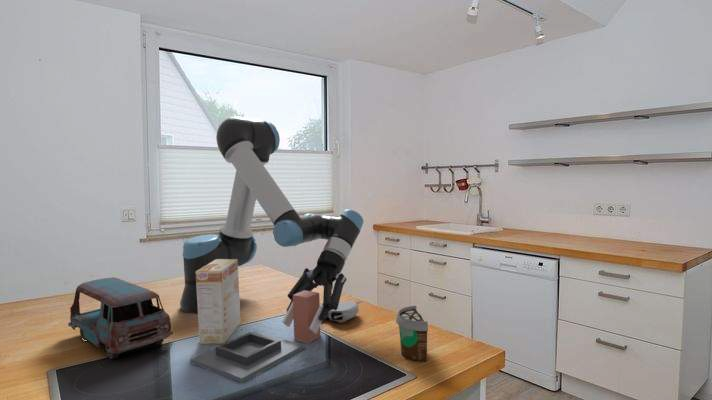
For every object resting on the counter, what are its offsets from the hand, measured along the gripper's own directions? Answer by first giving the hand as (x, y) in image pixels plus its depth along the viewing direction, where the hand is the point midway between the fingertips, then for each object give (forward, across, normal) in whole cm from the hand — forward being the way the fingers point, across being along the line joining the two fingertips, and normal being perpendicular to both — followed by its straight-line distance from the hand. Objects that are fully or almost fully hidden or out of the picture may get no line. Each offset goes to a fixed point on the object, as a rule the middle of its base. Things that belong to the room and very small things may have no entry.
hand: (298, 327), depth 111 cm
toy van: (+20, +42, +14) cm, 49 cm away
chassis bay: (+12, +5, +6) cm, 14 cm away
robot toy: (-11, +3, -16) cm, 20 cm away
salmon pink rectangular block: (0, 0, -5) cm, 5 cm away
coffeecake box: (+8, +23, +2) cm, 24 cm away
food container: (-3, -28, -9) cm, 29 cm away
